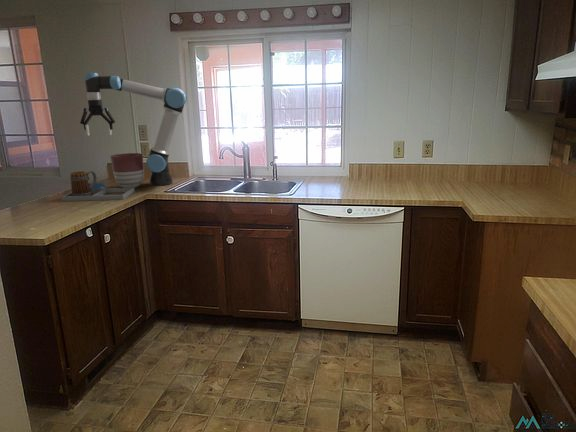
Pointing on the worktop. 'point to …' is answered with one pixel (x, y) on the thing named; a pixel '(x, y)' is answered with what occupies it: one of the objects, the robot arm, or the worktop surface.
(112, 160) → the planter
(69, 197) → the grey tray
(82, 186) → the mug
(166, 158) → the robot arm
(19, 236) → the worktop surface
